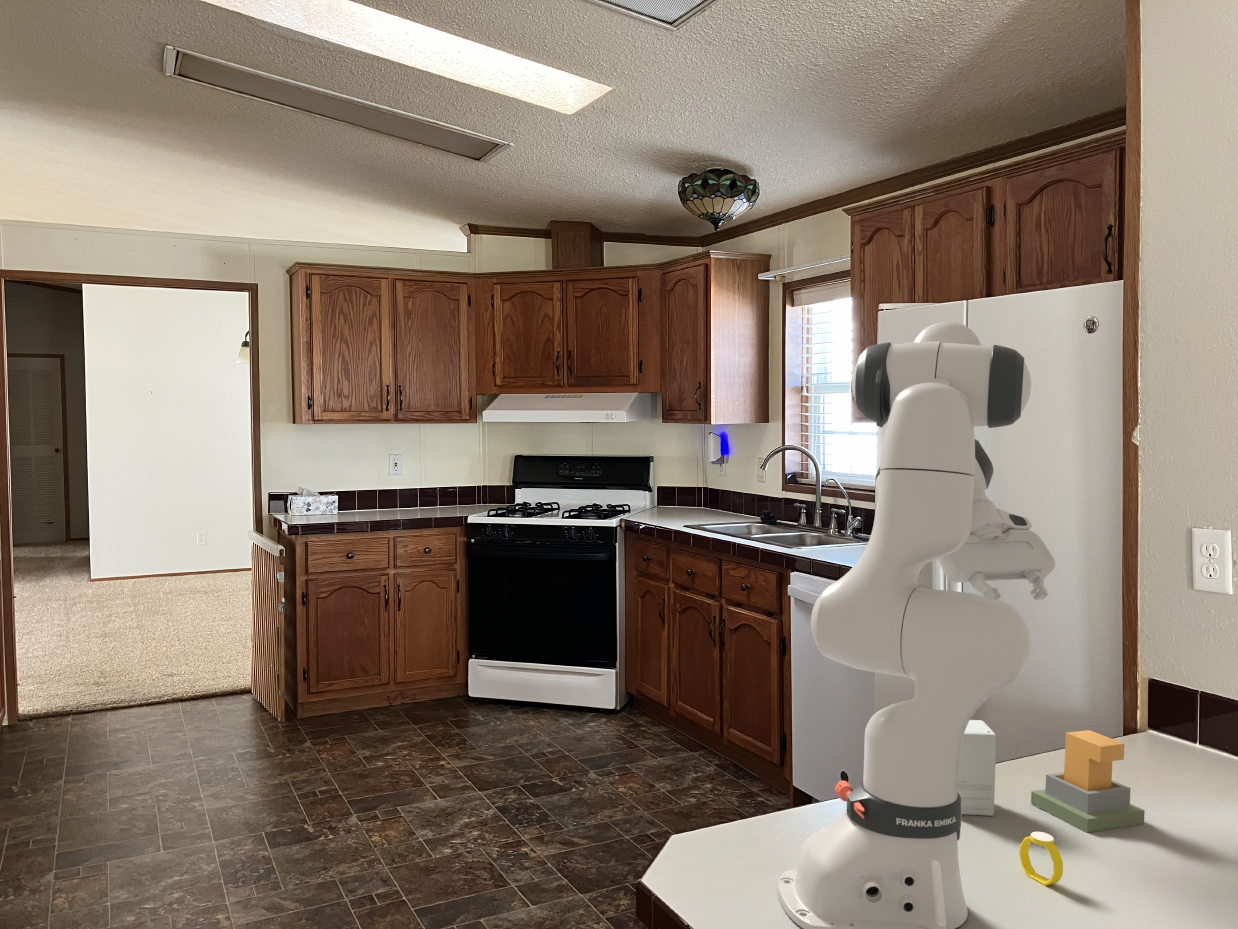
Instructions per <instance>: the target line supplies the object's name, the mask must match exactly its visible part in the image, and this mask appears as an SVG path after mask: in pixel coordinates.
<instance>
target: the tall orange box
mask: <svg viewBox="0 0 1238 929" xmlns="http://www.w3.org/2000/svg"><path fill="white" fill-rule="evenodd" d="M1064 742H1065V744H1064V745H1065V748H1064V766H1063V767H1064V768H1063V772H1064V781H1066V782H1068V783H1071V784H1073V785H1075V786H1077V787H1079V788H1081V789H1084V790H1086V791H1095V790H1103V789H1110V788H1111V782H1112V780H1113V778H1112V777H1113V776H1112V775H1113V762H1115V761H1122V760H1125V743H1124V742H1122V741H1119V740H1116V739H1115V738H1114V739H1113V738H1111V737H1108V736H1106V735H1102V734H1101V733H1098V732H1095V731H1093V730H1090V729H1087V730H1078V731H1069V732H1065V741H1064Z"/></svg>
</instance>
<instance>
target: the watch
mask: <svg viewBox="0 0 1238 929" xmlns="http://www.w3.org/2000/svg"><path fill="white" fill-rule="evenodd" d="M1054 840H1055V839H1054V836H1052V835H1051V834H1049V833H1048V832H1044V831H1043V832H1042V831H1032V832H1031V833H1030V835H1029V836H1026V837H1024V838H1023V840H1022V841H1021V843H1020V845H1019V852H1018V853H1019V859H1020V864H1021V866H1022V867H1021V868H1022V869H1023V870H1024V872H1025V874H1026V875H1027V876H1028V877H1029V878H1031V879H1033V880H1035V881H1036V882H1038V883H1039V884H1042V886H1045V887H1046V886H1051V885H1054V884H1056V883H1059V881H1060V880H1061V879H1062V876H1063V875H1064V874H1063V872H1064V862H1063V858H1062V856H1061V853H1060V850H1059V849H1058V847H1057V846H1056V845H1055V844H1054V843H1055V841H1054ZM1032 843H1034V844H1036V845H1037V846H1042V847H1045V848H1046V850H1047V851H1048V853H1049V855H1050V858H1051V860H1052V864H1053V865H1052V866H1053V868H1052V869H1053V873H1052V875H1051V878H1050V879H1048V878H1046V877H1044V876H1043V875H1041V874H1039V873H1037V872H1036V870H1035V869H1034V867H1033V865H1032V864H1031V860H1030V855H1029V853H1030V852H1029V850H1030V844H1032Z"/></svg>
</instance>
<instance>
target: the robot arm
mask: <svg viewBox="0 0 1238 929" xmlns="http://www.w3.org/2000/svg"><path fill="white" fill-rule="evenodd" d="M851 389H852V394H853V397H854V400H855V405H856V408H857V410H858V411H859V412H860V413H861V414H862V415H863V416H864V417H865V418H866V419H869V420H871V421H873V422H875V423H876V426H877V427H878V428H883V427H884V426H885V424H886V426H885V432H884V436H883V442H882V449H881V456H880V463H879V464H880V466H879V468H878V469H877V472H876V475H875V488H876V492H877V498H876V499H877V500H876V507H875V514H874V520H873V526H872V530H871V534H870V536H869V539H868V542H867V544H866V546H865V548H864V550H863V552H862V554H861V555H860V557H859V558H858V560H857V561H856V563H855V564H854V565H852V568H850V569H849V571H847V572H846V573H845V574H844V575H843V576H842V577H840V578H839V579H837V580H836V581H834V582H833V583H831V584H830V585H828V586H827V587H826V588H825V589H824V590H823V591H822V592H820V594H819V596H818V597H817V599H816V600H815V602H814V605H813V608H812V610H811V615H810V630H811V634H812V637H813V638H812V639H813V641H814V644H815V646H816V648H817V649H818V651H819V652H820V653H821V655H822V656H823V657H825V658H827V659H830V660H832V661H834V662H836V663H837V662H838V663H839V664H842V665H845V666H847V667H850V668H853V669H857V670H860V671H866V672H871V673H878V674H884V675H889V676H895V677H896V676H897V677H902V678H908V679H910V680H913V681H914V693H913V697H912V698H910V699H907V700H903V701H899V702H896V703H893V704H891V705H890V704H889V706H886V707H884V708H883V707H882V708H881V709H879V710H878V711H877V712H875V713H874V714H873V715H872V716H871V717H870V719H869V720H868V722H867V725H866V726H865V729H864V745H863V746H864V747H863V748H864V750H863V752H864V753H863V779H862V780H861V782H860V783H859V785H858V786H856V787H855V788H853V787H852V785H851V784H850V783H849V782H848V781H846V780H840V781H838V782H837V784H835V787H834V790H835V791H834V792H835V793H836V794H837V796H838V797H839V799H840V800H841V801H843V802H846V812H845V813H844V814H842V815H841V816H840V817H837V818H836V819H835V820H834V821H832V822H831V823H829V824H827V825H826V826H824V827H823V828H821V829H820V830H818V831H817V832H815V833H814V834H812V835H810V836H809V837H808V838H806V840H805V841H804V843H803V844H802V845H801V849H800V852H799V856H798V861H797V865H796V866H797V867H796V869H794V870H793V869H792V870H785V871H784V872H783V873H781V875H780V876H779V879H778V885H777V895H778V898H779V900H780V904H781V905H782V907H783V909H784V911H785V913H787V915H788V916H789V918H790V919H791V920H792V921H793V922H794V923H795V924H797V926H799V927H800V928H802V929H956V928H959V927H960V926H962V925H963V924H964V923H965V922H966V920H967V919H968V916H969V911H968V907H967V904H966V899H965V895H964V891H963V884H962V878H961V871H960V861H959V850H958V849H959V847H958V846H959V845H958V842H959V840H960V838H961V827H962V816H963V814H961V797H960V794H959V793H958V775H959V763H960V754H961V747H962V741H963V736H964V733H965V730H966V727H967V725H968V722H969V721H970V720H972V719H971V718H972V717H973V716H974V714H975V713H976V711H977V710H978V709H979V708H980V706H981V705H982V704H983V703H984V702H985V701H987V700H988V699H989V698H990V697H991V696H993V695H994V694H995V693H997V692H999V691H1001V690H1003V689H1005V688H1006V687H1009V686H1010V685H1011V684H1013V683H1014V682H1015V681H1016V680H1017V679H1018V678H1019V677H1020V675H1022V673H1023V672H1024V670H1025V669H1026V666H1027V664H1028V661H1029V658H1030V654H1031V637H1030V633H1029V629H1028V626H1027V624H1026V621H1025V619H1024V618H1023V616H1022V615H1021V613H1020V611H1018V609H1017V608H1016V607H1015V606H1014V605H1012V604H1008V603H1006V602H1002V601H1000V599H1001V593H1000V592H999V590H998V588H997V587H992V586H991V585H990V584H989V583H988V582H994V581H995V582H999V581H1002V582H1003V581H1016V580H1017V581H1019V580H1020V581H1021V580H1027V581H1028V583H1029V584H1032V587H1033V588H1032V589H1031V591H1029V593H1030V594H1031V596H1033V599H1034V600H1036V601H1038V600H1044V599H1046V598H1047V597H1048V594H1049V593H1048V591H1047V589H1046V588H1045V586H1044V584H1045V583H1044V582H1045V581H1044V580H1045V578H1047V577H1048V576H1049V575H1050V574H1051V573H1052V572H1053V570H1054V569H1055V567H1056V561H1055V559H1054V557H1053V555H1052V553H1051V552H1050V550H1049V548H1048V546H1047V545H1046V544H1045V542H1044V540H1043V539H1042V538H1041V537H1040V536H1039V535H1038V533H1036V532H1035V531H1033V530H1031V529H1032V527H1033V524H1032V522H1031V521H1030V519H1029V518H1027V517H1025V516H1022V515H1017V514H1014V513H1011V512H1008V511H1005V510H1004V509H1001V508H997V507H996V506H997V505H995V503H994V502H992V500H990V499H989V497H988V496H987V495H986V492H985V491H986V490H988V488H989V486H990V484H991V480H992V478H993V475H994V466H993V462H992V461H991V459H990V458H989V457H990V456H988V454H987V452H986V451H985V449H984V448H983V445H982V444H981V442H979V440H978V439H976V437H975V428H976V427H985V426H987V427H988V428H989V429H993V428H994V429H995V428H1002V427H1007V426H1011V425H1013V424H1015V422H1017V421H1018V420H1019V419H1020V418H1021V417H1022V413H1023V411H1024V409H1025V407H1026V406H1027V404H1028V401H1029V399H1030V396H1031V389H1032V380H1031V375H1030V370H1029V368H1028V366H1027V363H1026V361H1025V357H1024V356H1023V355H1022V354H1020V352H1018V351H1017V350H1016V349H1014V348H1010V347H1007V346H1003V345H999V344H993V346H992V345H991V346H985V345H982V343H981V341H980V338H979V337H978V336H977V334H976V333H975V332H974V331H973V330H972V329H971V328H969V327H968V326H967V325H966V324H965V325H964V324H962V323H959V322H955V321H941V322H937V323H933V324H931V325H929V326H926V327H925V328H924V329H923V330H921V331H920V333H918V335H917V336H916V338H914V341H912V342H902V343H895V344H892V343H891V342H890V341H889V342H883V343H877V344H872V345H869V346H867V347H866V348H865V349H864V350H863V351H862V352H861V353H860V354H859V356H858V360H857V362H856V364H855V367H854V369H853V373H852V378H851ZM937 560H938V562H939V564H940V568H941V570H942V572H943V574H944V576H945V578H946V579H947V580H949V581H950V582H952V583H954V584H955V583H970V586H971V587H972V588H973V589H975V591H977V592H978V593H979V594H982V595H979V594H976V593H972V592H962V591H952V590H945V589H937V588H935V589H933V588H928V587H927V588H924V587H921V586H919V585H918V579H919V575H920V572H921V571H922V569H923V568H924V566H925V565H926V564H928V563H931V562H934V561H937Z"/></svg>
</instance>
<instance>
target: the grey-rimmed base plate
mask: <svg viewBox="0 0 1238 929" xmlns="http://www.w3.org/2000/svg"><path fill="white" fill-rule="evenodd" d="M1131 789H1132V788H1131V787H1129V786H1127V785H1124V784H1123V783H1120V782H1118V781H1115V780H1113V779H1112V782H1111V788H1110V789H1103V790H1095V791H1086V790H1084V789H1081V788H1079V787H1077V786H1075V785H1073V784H1071V783H1068V782H1066V781H1064V771H1062V772H1056V773H1048V774H1045V789H1038V790H1037V789H1036V790H1032V791H1031V793H1030V804H1031V803H1032V804H1033V806H1034V805H1035V806H1034V807H1036V806H1038V807H1040V808H1041V809H1040V808H1039V809H1040V810H1042V809H1043V811H1044V810H1045V811H1044V812H1046V811H1047V812H1046V813H1048V814H1051V815H1052V814H1053V815H1052V816H1054V817H1056V818H1058V819H1059V818H1060V819H1059V820H1061V819H1062V821H1063V820H1064V822H1065V823H1068V824H1070V825H1071V826H1073V827H1075V828H1077V829H1079V830H1081V831H1083V832H1084V833H1092V832H1093V831H1094V832H1098V831H1099V830H1100V831H1105V830H1112V829H1118V828H1117V827H1119V828H1123V827H1122V826H1125V827H1131V826H1136V825H1142V824H1145V811H1146V810H1145V809H1143V808H1141V807H1139V806H1136V805H1134V804H1132V803H1131ZM1032 804H1031V805H1032ZM1038 807H1037V808H1038ZM1111 828H1112V829H1111Z"/></svg>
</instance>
